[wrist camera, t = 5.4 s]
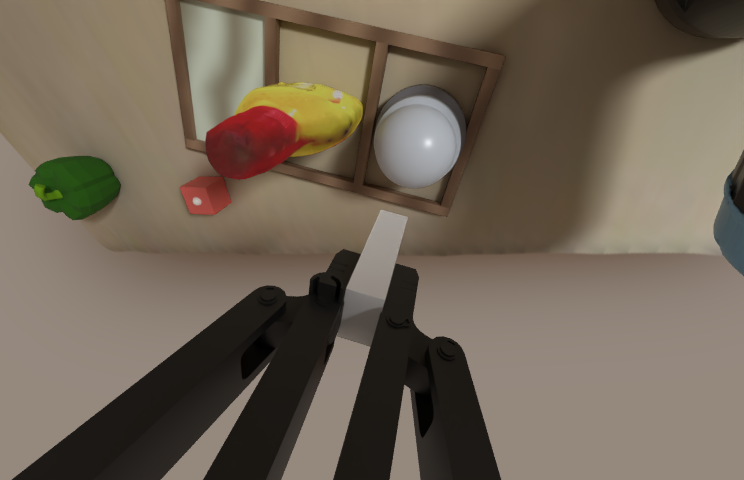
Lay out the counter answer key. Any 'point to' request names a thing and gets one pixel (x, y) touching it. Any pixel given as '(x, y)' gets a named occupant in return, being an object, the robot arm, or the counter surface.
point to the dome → (417, 141)
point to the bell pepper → (75, 185)
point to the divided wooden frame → (261, 68)
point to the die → (206, 195)
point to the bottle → (280, 127)
